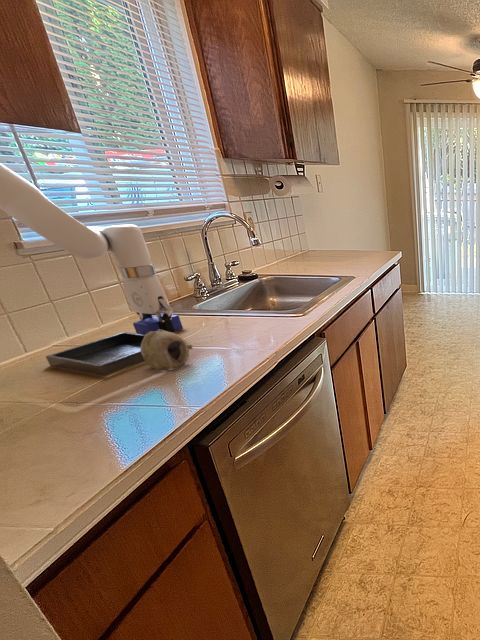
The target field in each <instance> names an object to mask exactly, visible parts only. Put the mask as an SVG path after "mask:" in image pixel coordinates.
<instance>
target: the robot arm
mask: <svg viewBox="0 0 480 640" xmlns="http://www.w3.org/2000/svg"><path fill="white" fill-rule="evenodd" d="M0 210H2V211H3V212H5V213H6V214H7V215H8V216H10V217H11V218H12V219H15V220H16V221H17V222H18V221H19V223H21V224H23V225H24V226H26V227H27V228H29V229H30V230H32V231H33V232H34V233H36V234H38V235H39V236H41V237H42V238H44V239H45V240H47V241H49V242H50V243H52V244H53V245H55V246H57V247H59V248H60V249H61V250H63V251H65V252H67V253H69V254H70V255H73V257H77V258H79V259H81V260H86V261H95V260H99V259H101V258H102V257H104V256H105V255H106V254H110V253H111V254H112V255H113V257H114V260H115V263H116V265H117V268H118V270H119V273H120V275H121V278H122V286H123V290H124V293H125V297H126V299H127V302H128V305H129V309H130V310H131V311H132V312H134V313H136V315H138V317H139V321H141V320H144V319H148V318H151V317H153V315H155V316H157V318H158V319H159V321H160V323H159V325H160V328H161V330H164V331H168V332H172V333H176V331H175V330H174V327H173V324H172V321H171V320H172V315H173V313H174V308H173V307H172V306H171V305H170V303H169V300H168V297H167V294H166V292H165V289H164V287H163V285H162V282H161V281H160V280H159V277H158V274H157V272H156V268H155V265H154V263H153V260H152V257H151V254H150V252H149V249H148V246H147V243H146V240H145V238H144V233H143V232H142V230H141V228H140V227H139V226H138V225H136V224H116V225H109V226H93V225H92V226H90V225H86V224H84V223H82V222H81V221H79V220H78V219H76V218H75V217H73V216H72V215H70V214H69V213H67V212H66V211H65V210H63V209H61V208H60V207H59V206H58V205H56V204H55V203H54V202H52V201H51V200H50V199H49V198H48V197H47V196H46V195H45V194H44V193H43V192H42V191H41V190H40V189H39V188H38V187H37V186H35V185H34V184H33V183H31V182H30V181H28V180H27V179H25V178H24V177H22V176H21V175H19V174H18V173H16V172H15V171H14V170H11V169H10V168H8V167H7V166H6V165H4V164H2V163H1V162H0ZM161 314H163V316H161Z"/></svg>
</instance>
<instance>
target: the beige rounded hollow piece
mask: <svg viewBox="0 0 480 640" xmlns="http://www.w3.org/2000/svg"><path fill="white" fill-rule="evenodd" d="M193 347H194V346H193V345H192V344H188V343H187V342H186V340H184V338H183V337H182V336H180V335H179V334H177V333H176V332H173V333H172V332H168V331H164V330H161V329H158V331H150V332H148V333H147V334H146V335H145V336H144V338H143V341H142V343H141V354H142V357H143V359H144V360H145V361H144V362H145V363H146V365H148V366H149V367H151V368H152V369H154V370H156V371H159V370H164V371H174V370H178V369H179V368H180V367H183V366H185V364H186V362H187V360H188V358H189V356H190V355H189V352H190V350H192V349H193Z"/></svg>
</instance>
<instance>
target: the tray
mask: <svg viewBox="0 0 480 640" xmlns="http://www.w3.org/2000/svg"><path fill="white" fill-rule="evenodd" d="M144 336H145V335H144V334H137V333H136V332H129V331H123V332H122V331H121V332H120V333H117V334H114V335H113V334H112V335H110V336H106V337H103V338H100V339H97V340H94V341H90V342H88V343H83V344H81V345H77V346H75V347H71V348H68V349H65V350H62V351H58V352H55V353H52V354H48V355H46V356H45V358H46V360H47V363H48V364H49V366H50V367H53V368H59V369H64V370H70V371H76V372H81V373H87V374H91V375H97V376H102V377H106V376H108V375H112V374H113V373H117V372H120V371H121V370H124V369H127V368H129V367H132V366H134V365H138V364H140V363H143V362H145V360H144V359H143V357H142V354H141V343H142V341H143V338H144Z"/></svg>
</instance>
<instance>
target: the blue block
mask: <svg viewBox="0 0 480 640" xmlns="http://www.w3.org/2000/svg"><path fill="white" fill-rule="evenodd" d="M163 314H164V313H161V316H163ZM171 321H172V324H173V327H174V330H175V332H177V331H180V330H184V327H183V324H182V321H181V319H180V315H179V314H172V320H171ZM159 323H160V321H159V319H158V318H157V316H156V315H155V316H152V317H151V318H148V319H144V320H138V321H134V322H132V325H133V328H134V331H135V333H136V334H144V335H146V334H147V333H148V332H150V331H158V329H161V328H160V325H159Z"/></svg>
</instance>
